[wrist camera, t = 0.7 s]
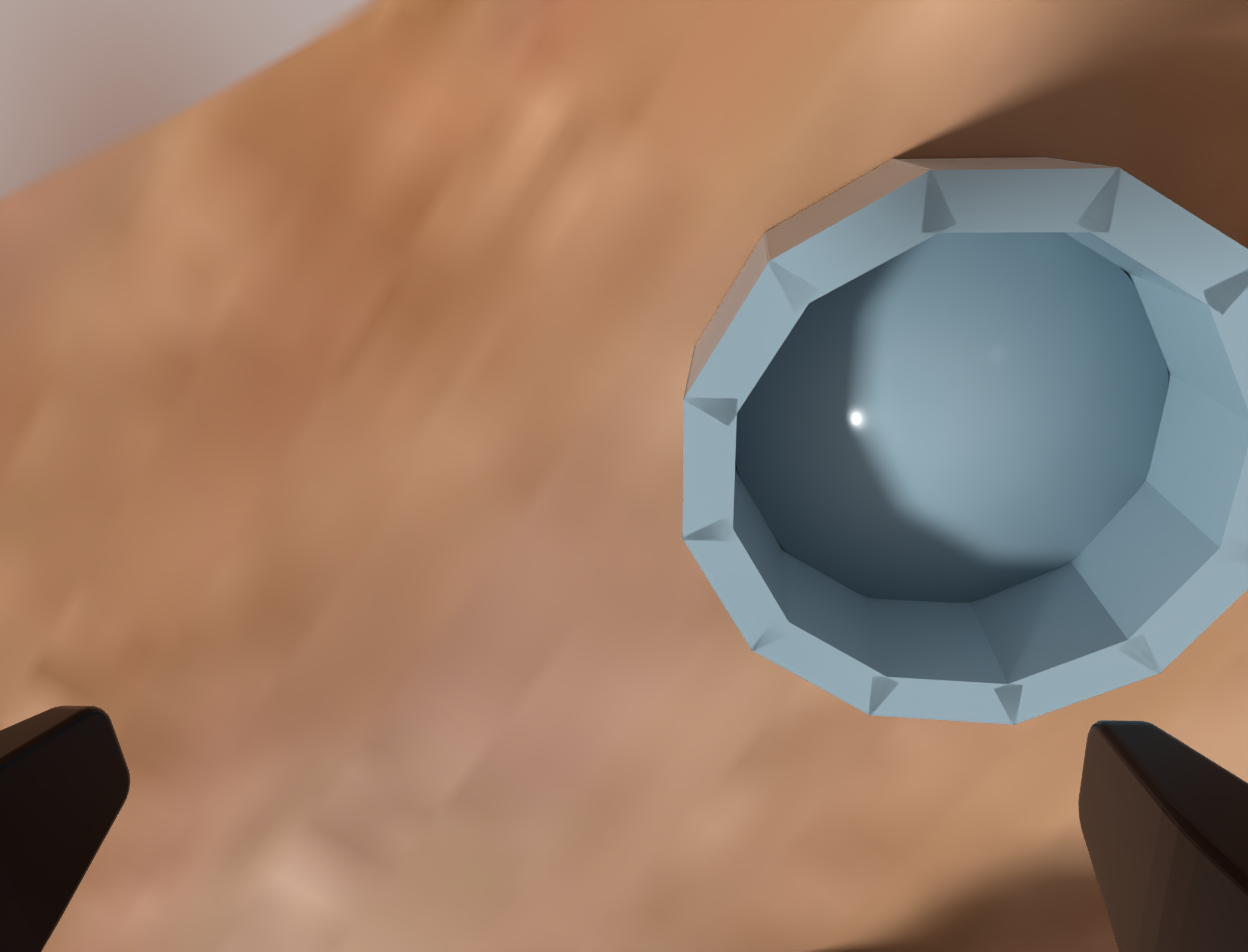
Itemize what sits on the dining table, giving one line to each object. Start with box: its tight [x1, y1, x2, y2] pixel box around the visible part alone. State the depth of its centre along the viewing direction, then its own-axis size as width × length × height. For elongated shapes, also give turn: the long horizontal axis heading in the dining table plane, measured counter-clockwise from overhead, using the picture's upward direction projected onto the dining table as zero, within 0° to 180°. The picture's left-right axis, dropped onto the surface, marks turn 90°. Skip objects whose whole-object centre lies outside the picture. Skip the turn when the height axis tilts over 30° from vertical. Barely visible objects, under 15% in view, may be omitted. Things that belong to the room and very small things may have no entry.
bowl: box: [682, 156, 1248, 725], centre depth 18 cm, size 11×11×4 cm
